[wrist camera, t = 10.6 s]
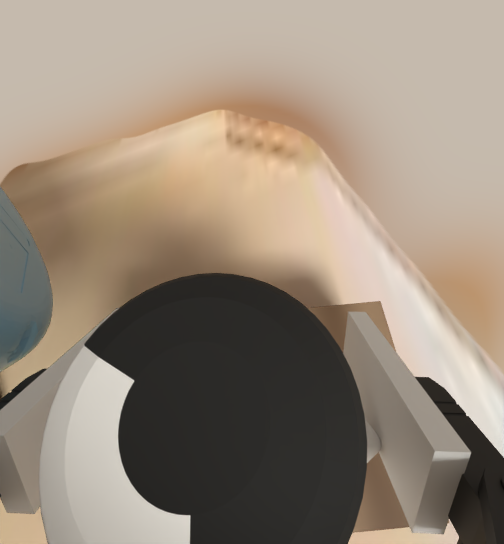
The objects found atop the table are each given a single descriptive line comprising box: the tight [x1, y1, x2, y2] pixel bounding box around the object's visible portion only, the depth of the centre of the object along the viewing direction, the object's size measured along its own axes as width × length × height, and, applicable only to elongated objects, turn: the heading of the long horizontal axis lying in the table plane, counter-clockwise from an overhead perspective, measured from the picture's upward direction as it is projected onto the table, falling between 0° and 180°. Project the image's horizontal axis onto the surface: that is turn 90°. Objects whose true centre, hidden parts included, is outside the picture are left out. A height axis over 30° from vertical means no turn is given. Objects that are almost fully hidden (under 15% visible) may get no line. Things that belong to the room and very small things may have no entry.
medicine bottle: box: [39, 273, 381, 544], centre depth 10 cm, size 7×7×12 cm
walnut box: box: [307, 301, 449, 533], centre depth 20 cm, size 20×12×7 cm, turn 95°
